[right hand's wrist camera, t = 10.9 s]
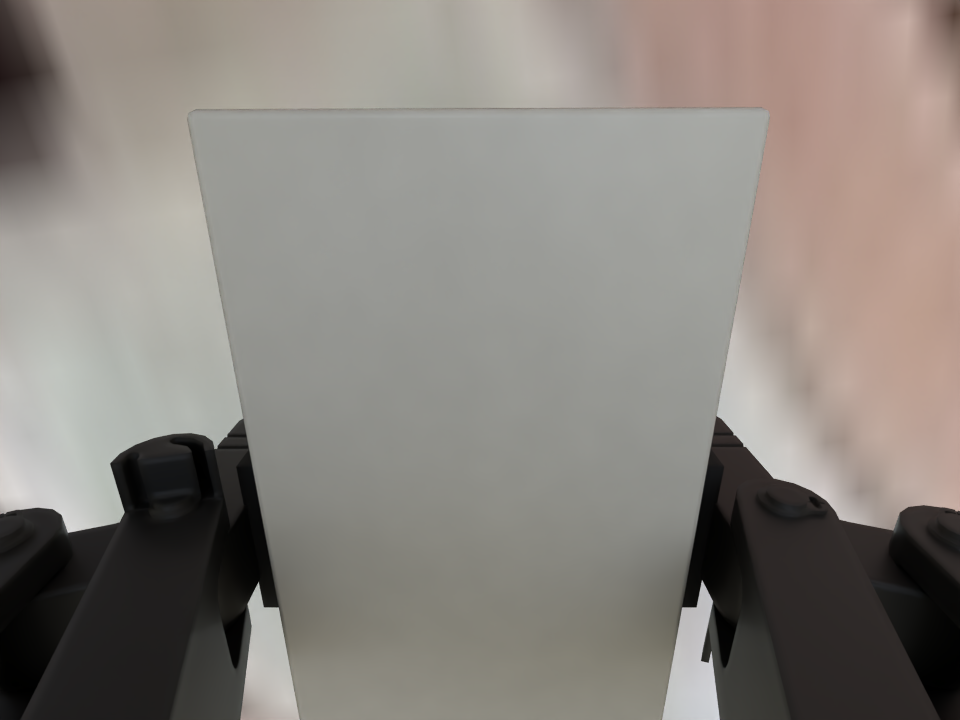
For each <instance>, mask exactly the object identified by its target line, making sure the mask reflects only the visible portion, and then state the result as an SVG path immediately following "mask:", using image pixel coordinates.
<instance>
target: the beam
mask: <svg viewBox="0 0 960 720" xmlns="http://www.w3.org/2000/svg"><path fill="white" fill-rule="evenodd" d="M769 119H770V116H769V111H768V110H766V109H764V108H762V107H714V108H442V109H196V110H194V111H192V112H190V113H189V114H188V125H189V130H190V136H191V141H192V146H193V152H194V157H195V162H196V168H197V173H198V178H199V184H200V189H201V194H202V200H203V205H204V210H205V216H206V221H207V226H208V232H209V237H210V242H211V248H212V253H213V258H214V264H215V269H216V275H217V280H218V285H219V291H220V296H221V301H222V307H223V312H224V317H225V323H226V328H227V333H228V339H229V344H230V349H231V355H232V360H233V365H234V371H235V376H236V381H237V387H238V392H239V397H240V403H241V408H242V413H243V419H244V424H245V429H246V435H247V440H248V445H249V451H250V456H251V461H252V467H253V472H254V477H255V483H256V488H257V493H258V499H259V504H260V509H261V515H262V520H263V525H264V531H265V536H266V541H267V547H268V552H269V557H270V563H271V568H272V573H273V579H274V584H275V589H276V595H277V600H278V605H279V611H280V616H281V621H282V627H283V632H284V637H285V643H286V648H287V653H288V659H289V664H290V669H291V675H292V680H293V685H294V691H295V696H296V701H297V707H298V712H299V717H300V720H662V716H663V711H664V705H665V700H666V694H667V688H668V683H669V677H670V672H671V666H672V660H673V655H674V649H675V644H676V638H677V633H678V627H679V621H680V616H681V610H682V605H683V599H684V594H685V588H686V582H687V577H688V571H689V566H690V560H691V555H692V549H693V543H694V538H695V532H696V527H697V521H698V515H699V510H700V504H701V499H702V493H703V488H704V482H705V476H706V471H707V465H708V460H709V454H710V449H711V443H712V437H713V432H714V426H715V421H716V415H717V409H718V404H719V398H720V393H721V387H722V382H723V376H724V370H725V365H726V359H727V354H728V348H729V343H730V337H731V331H732V326H733V320H734V315H735V309H736V303H737V298H738V292H739V287H740V281H741V276H742V270H743V264H744V259H745V253H746V248H747V242H748V237H749V231H750V225H751V220H752V214H753V209H754V203H755V198H756V192H757V186H758V181H759V175H760V170H761V164H762V158H763V153H764V147H765V142H766V136H767V131H768V125H769Z"/></svg>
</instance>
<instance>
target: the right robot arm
mask: <svg viewBox="0 0 960 720" xmlns="http://www.w3.org/2000/svg"><path fill="white" fill-rule="evenodd" d="M110 465H111V468H112V471H113V475H114V478H115V481H116V485H117V488H118V491H119V495H120V498H121V501H122V505H123V508H124V511H125V513H124V515H123V517H122V519H121V521H120V523H116V524H112V525H107V526H101V527H96V528H91V529H86V530H81V531H76V532H71V533H68V532H67V529H66V527H65V524H64V521H63V518H62V515H60V514H59V513H57V512H56V511H55V510H53V509H44V508H32V509H24V510H15V511H10V512H7V513H6V514H4V513H3V514H0V720H240V717H241V709H242V701H243V693H244V684H245V676H246V668H247V660H248V651H249V643H250V635H251V627H252V626H251V620H250V614H249V609H248V605H247V604H248V602H249V600H250V598H251V596H252V594H253V592H254V590H255V588H256V586H257V584H258V582H259V585H260V590H261V595H262V600H263V605H264V607H279V605H278V600H277V595H276V589H275V584H274V579H273V573H272V568H271V563H270V557H269V552H268V547H267V541H266V536H265V531H264V525H263V520H262V515H261V509H260V504H259V499H258V493H257V488H256V483H255V477H254V472H253V467H252V461H251V456H250V451H249V445H248V440H247V435H246V429H245V424H244V419H242V420H240V421H239V422H238V423H237V424H236V425H235V427H234V428H233V429H232V430H231V431H230V432H229V433H228V436H227V437H225V438H224V439H223V440H222V442H221V443H220V444H219V445H218V448H217V449H215V450H214V445H213V441H211V440H210V439H209V438H207V437H206V436H203V435H197V434H192V433H187V434H172V435H167V436H162V437H157V438H153V439H150V440H148V441H145V442H142V443H139V444H137V445H134V446H133V447H131V448H129V449H127V450H126V451H124V452H122V453H120V454H119V455H118V456H117V457H116V458H115V459H114V460H113V461H112V462H111V463H110ZM702 580H703V582H704V584H705V586H706V588H707V590H708V592H709V594H710V596H711V598H712V600H713V605H712V609H711V614H710V619H709V623H708V628H707V633H706V637H705V642H704V647H703V652H702V659H701V661H703V662H708V663H709V658H710V654H711V651H712V658H713V666H714V675H715V683H716V691H717V699H718V707H719V716H720V720H960V511H958V512H956V511H955V510H953V509H949V508H943V507H942V508H940V507H933V506H925V505H923V506H913V507H908V508H906V509H905V510H903V511H902V512H900V514H899V517H898V520H897V523H896V525H895V528H894V531H892V530H887V529H882V528H877V527H871V526H866V525H861V524H856V523H851V522H846V521H842V520H839V518H838V516H837V514H836V512H835V511H834V510H833V508H832V507H831V506H830V505H829V504H828V502H827V501H826V500H824V499H823V498H821V497H820V496H818V495H817V494H815V493H814V492H812V491H811V490H808V489H806V488H803V487H801V486H799V485H796V484H794V483H790V482H786V481H782V480H777V479H773V477H772V476H771V475H770V474H769V473H768V472H767V471H766V469H765V468H764V467H763V466H762V465H761V464H760V463H759V461H758V460H757V459H756V458H755V457H754V456H753V455H752V453H751V452H750V451H749V450H748V449H747V448H746V447H743V443H742V442H741V441H740V440H739V439H738V438H737V436H734V435H733V432H732V431H731V430H730V428H729V427H728V426H727V425H726V424H725V423H724V422H723V420H722V419H720V418H718V417H717V416H716V421H715V426H714V432H713V437H712V443H711V449H710V454H709V460H708V465H707V471H706V476H705V482H704V488H703V493H702V499H701V504H700V510H699V515H698V521H697V527H696V532H695V538H694V543H693V549H692V555H691V560H690V566H689V571H688V577H687V582H686V588H685V594H684V599H683V605H682V607H697V602H698V597H699V592H700V587H701V582H702Z"/></svg>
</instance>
